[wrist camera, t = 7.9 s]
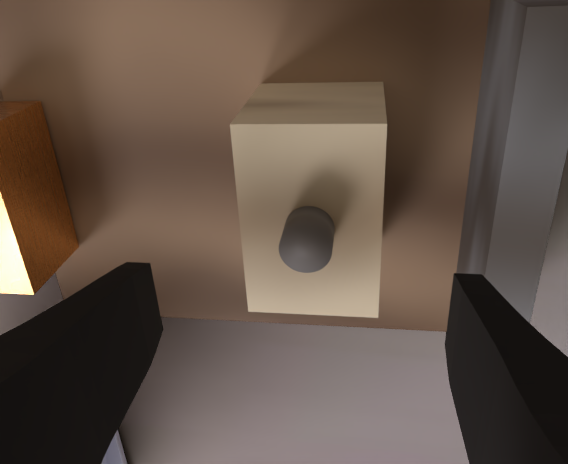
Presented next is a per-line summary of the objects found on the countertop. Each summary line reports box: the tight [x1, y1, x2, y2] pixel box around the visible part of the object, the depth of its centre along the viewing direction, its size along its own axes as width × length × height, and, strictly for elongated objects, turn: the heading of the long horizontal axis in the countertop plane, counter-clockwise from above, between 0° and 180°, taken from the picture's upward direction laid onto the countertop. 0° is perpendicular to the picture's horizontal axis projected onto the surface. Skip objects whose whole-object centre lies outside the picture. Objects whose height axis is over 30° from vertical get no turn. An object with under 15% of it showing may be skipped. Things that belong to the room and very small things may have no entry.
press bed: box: [0, 0, 568, 332], centre depth 19 cm, size 13×30×6 cm, turn 93°
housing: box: [230, 82, 387, 318], centre depth 16 cm, size 6×4×6 cm, turn 3°
